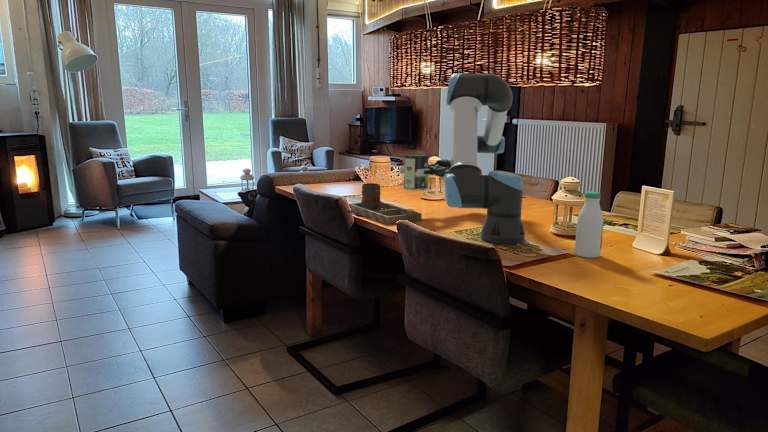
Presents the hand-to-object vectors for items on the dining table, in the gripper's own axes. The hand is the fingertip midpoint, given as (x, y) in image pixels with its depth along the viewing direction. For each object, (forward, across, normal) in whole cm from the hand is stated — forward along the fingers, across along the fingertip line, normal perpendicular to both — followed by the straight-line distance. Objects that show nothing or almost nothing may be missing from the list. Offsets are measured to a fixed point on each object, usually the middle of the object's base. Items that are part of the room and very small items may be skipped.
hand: (408, 171), depth 226 cm
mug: (+5, +16, -19) cm, 26 cm away
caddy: (+6, +8, -19) cm, 21 cm away
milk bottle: (-4, -78, -19) cm, 80 cm away
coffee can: (-4, 0, -8) cm, 9 cm away
